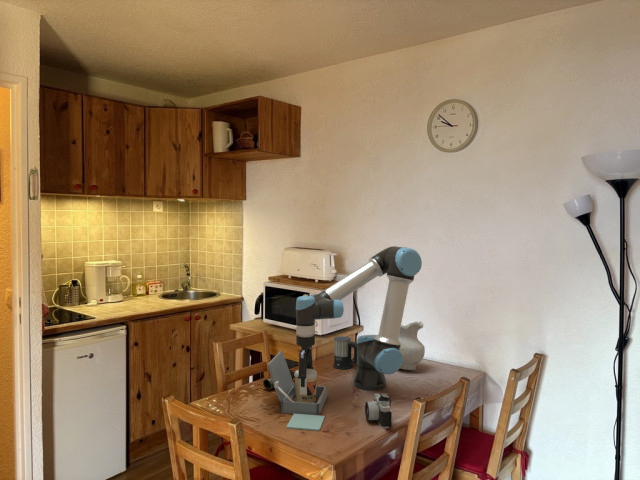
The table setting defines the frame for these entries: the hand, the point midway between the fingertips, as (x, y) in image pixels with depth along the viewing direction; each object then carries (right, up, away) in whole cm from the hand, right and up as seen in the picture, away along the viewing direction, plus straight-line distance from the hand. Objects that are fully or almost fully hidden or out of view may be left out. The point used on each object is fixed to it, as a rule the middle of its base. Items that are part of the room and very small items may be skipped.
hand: (305, 389), depth 192 cm
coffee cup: (0, -5, 0) cm, 5 cm away
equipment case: (-3, -6, 0) cm, 7 cm away
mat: (+1, -7, -17) cm, 19 cm away
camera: (+27, -7, -14) cm, 32 cm away
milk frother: (+20, -5, +54) cm, 58 cm away
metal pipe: (-16, -8, +18) cm, 25 cm away
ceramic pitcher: (+48, -5, +51) cm, 71 cm away
